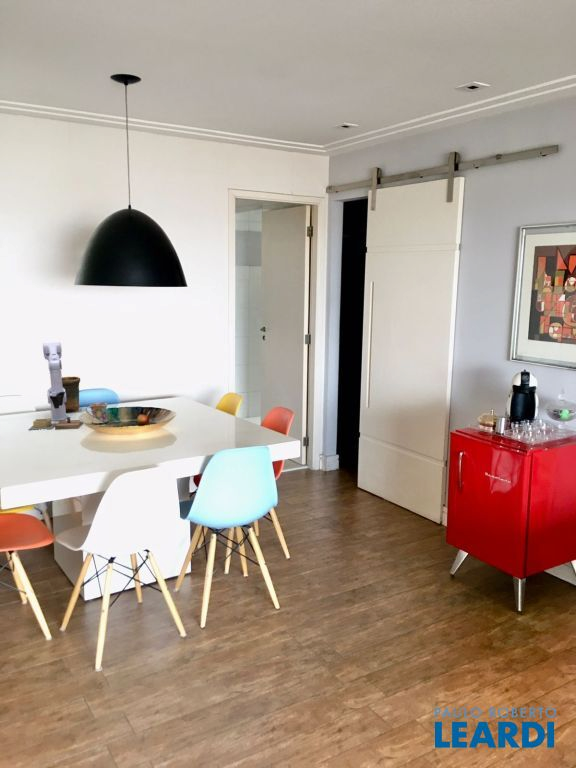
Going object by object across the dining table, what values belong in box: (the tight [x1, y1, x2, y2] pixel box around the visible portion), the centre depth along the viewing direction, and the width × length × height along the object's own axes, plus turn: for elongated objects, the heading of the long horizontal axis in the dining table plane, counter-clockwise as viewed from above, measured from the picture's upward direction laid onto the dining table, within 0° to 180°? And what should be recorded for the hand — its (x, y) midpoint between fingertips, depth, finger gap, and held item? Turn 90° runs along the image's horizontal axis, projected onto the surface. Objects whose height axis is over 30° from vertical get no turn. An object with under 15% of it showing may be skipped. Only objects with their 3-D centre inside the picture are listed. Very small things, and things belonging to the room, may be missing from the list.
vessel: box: [62, 376, 81, 415], centre depth 395 cm, size 14×14×20 cm
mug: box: [85, 401, 109, 423], centre depth 363 cm, size 12×9×11 cm
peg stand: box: [54, 416, 84, 431], centre depth 358 cm, size 12×12×5 cm
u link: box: [32, 418, 53, 428], centre depth 357 cm, size 8×6×4 cm
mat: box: [27, 422, 58, 431], centre depth 358 cm, size 12×12×1 cm
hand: (58, 406), depth 361 cm, fingers open, 7 cm apart
